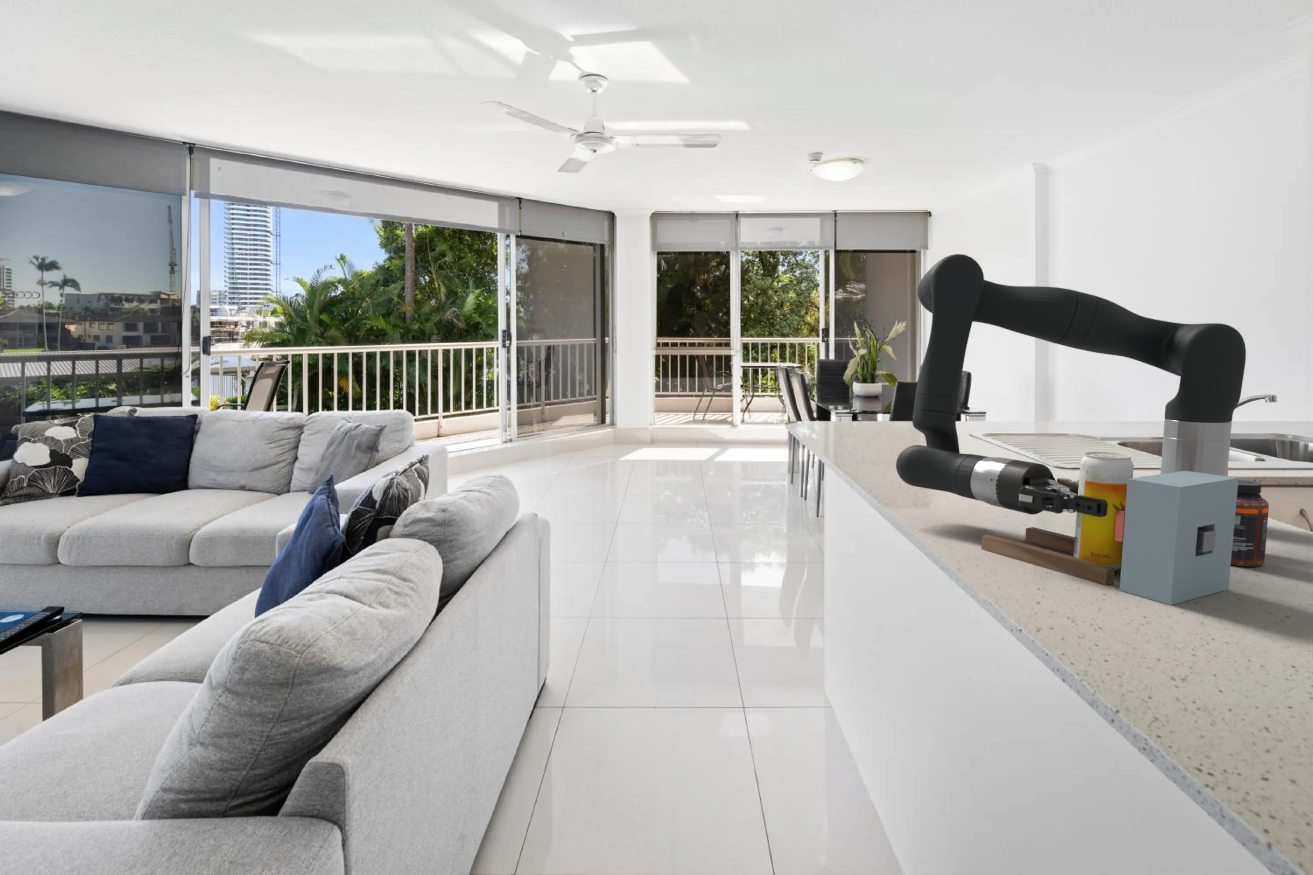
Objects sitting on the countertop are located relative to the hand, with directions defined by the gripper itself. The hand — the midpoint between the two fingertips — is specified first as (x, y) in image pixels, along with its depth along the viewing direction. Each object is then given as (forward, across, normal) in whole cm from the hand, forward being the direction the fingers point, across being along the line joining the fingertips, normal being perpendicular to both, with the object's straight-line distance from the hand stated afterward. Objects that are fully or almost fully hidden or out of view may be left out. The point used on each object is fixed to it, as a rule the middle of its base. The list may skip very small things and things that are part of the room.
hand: (1121, 506), depth 98 cm
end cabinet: (+7, 0, +9) cm, 12 cm away
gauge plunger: (+6, 0, +4) cm, 7 cm away
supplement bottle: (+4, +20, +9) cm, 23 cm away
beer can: (-2, 0, +9) cm, 9 cm away
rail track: (-7, 0, +9) cm, 12 cm away
